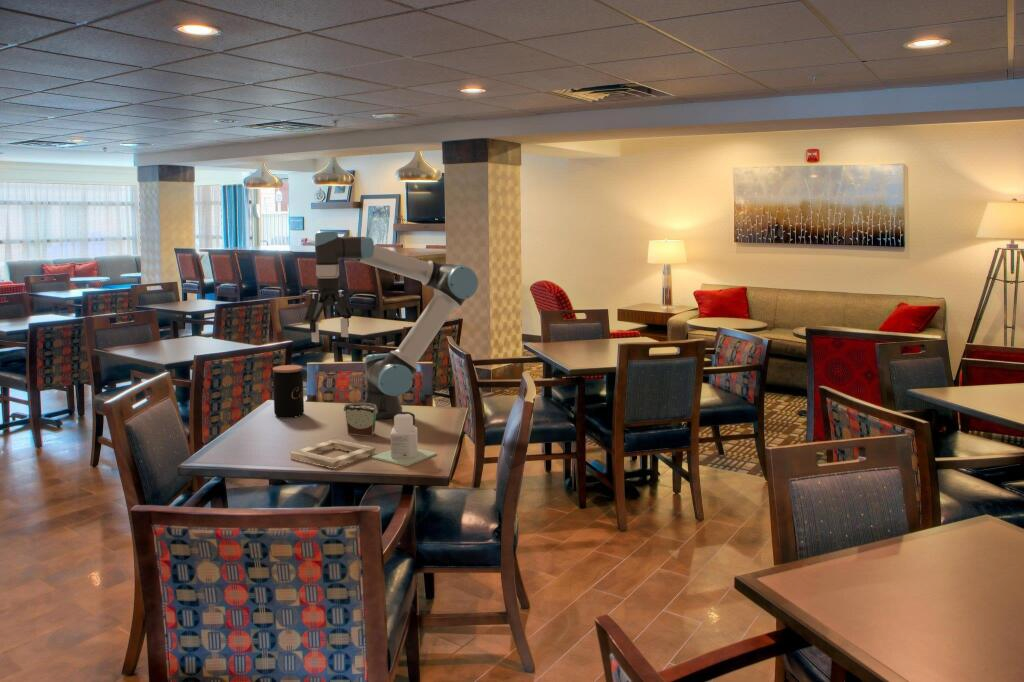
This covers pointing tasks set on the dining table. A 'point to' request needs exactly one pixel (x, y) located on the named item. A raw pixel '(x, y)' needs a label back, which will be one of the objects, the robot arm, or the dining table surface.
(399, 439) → the container
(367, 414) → the food container
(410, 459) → the pad
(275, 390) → the coffee jar
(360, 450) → the square picture frame
